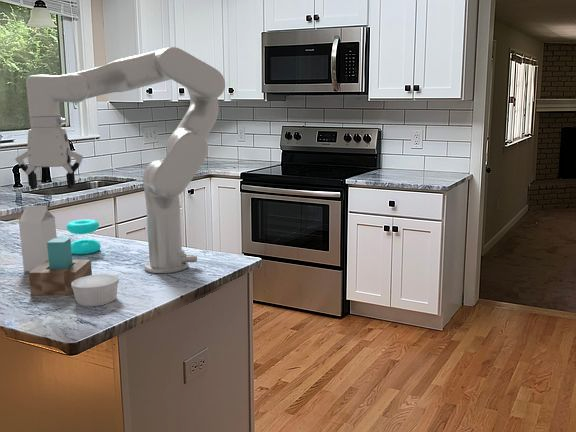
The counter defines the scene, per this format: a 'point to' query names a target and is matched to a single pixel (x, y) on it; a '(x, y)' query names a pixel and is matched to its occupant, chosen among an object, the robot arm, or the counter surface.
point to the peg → (59, 253)
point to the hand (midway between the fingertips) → (52, 188)
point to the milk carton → (36, 235)
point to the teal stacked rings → (83, 228)
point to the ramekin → (95, 289)
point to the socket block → (57, 278)
